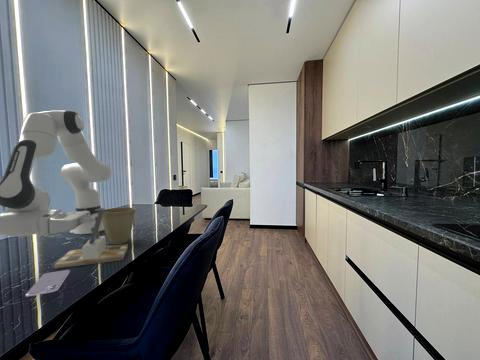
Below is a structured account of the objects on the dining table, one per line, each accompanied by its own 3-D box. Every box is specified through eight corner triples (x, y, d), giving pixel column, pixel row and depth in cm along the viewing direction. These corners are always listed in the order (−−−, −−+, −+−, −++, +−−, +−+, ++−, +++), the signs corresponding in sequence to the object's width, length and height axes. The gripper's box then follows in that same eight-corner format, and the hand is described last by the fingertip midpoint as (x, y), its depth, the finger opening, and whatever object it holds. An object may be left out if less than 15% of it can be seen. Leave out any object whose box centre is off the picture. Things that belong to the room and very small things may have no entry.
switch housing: (92, 248, 97) (92, 237, 97) (106, 247, 99) (105, 235, 99) (82, 260, 85) (82, 247, 85) (97, 258, 87) (97, 245, 86)
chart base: (70, 253, 96) (70, 249, 96) (128, 247, 103) (127, 243, 103) (54, 268, 82) (54, 264, 81) (122, 260, 89) (122, 255, 88)
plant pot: (134, 245, 105) (132, 211, 104) (97, 249, 101) (95, 213, 100) (138, 236, 120) (137, 206, 119) (106, 239, 115) (104, 208, 114)
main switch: (91, 240, 90) (101, 207, 91) (95, 241, 91) (105, 208, 91) (88, 243, 87) (99, 209, 88) (92, 244, 87) (103, 209, 88)
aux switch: (97, 236, 97) (92, 226, 96) (100, 235, 98) (96, 225, 97) (95, 239, 94) (90, 229, 93) (98, 237, 94) (93, 227, 93)
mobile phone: (70, 268, 80) (57, 289, 67) (70, 271, 80) (57, 292, 67) (43, 272, 77) (23, 295, 63) (43, 275, 77) (23, 298, 63)
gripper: (66, 223, 94) (103, 220, 98) (39, 237, 75) (87, 233, 79) (65, 208, 94) (103, 206, 98) (38, 218, 74) (87, 215, 79)
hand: (96, 218), depth 88 cm, fingers closed, pressing on main switch
